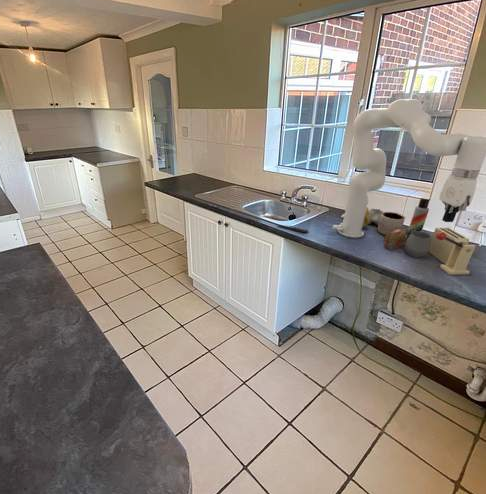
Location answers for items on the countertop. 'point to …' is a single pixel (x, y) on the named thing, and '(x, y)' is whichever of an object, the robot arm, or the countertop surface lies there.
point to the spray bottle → (419, 216)
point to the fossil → (375, 216)
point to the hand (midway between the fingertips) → (447, 221)
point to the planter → (390, 222)
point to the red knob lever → (448, 239)
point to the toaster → (444, 243)
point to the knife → (296, 229)
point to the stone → (366, 218)
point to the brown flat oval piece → (395, 238)
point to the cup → (418, 244)
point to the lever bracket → (459, 259)
